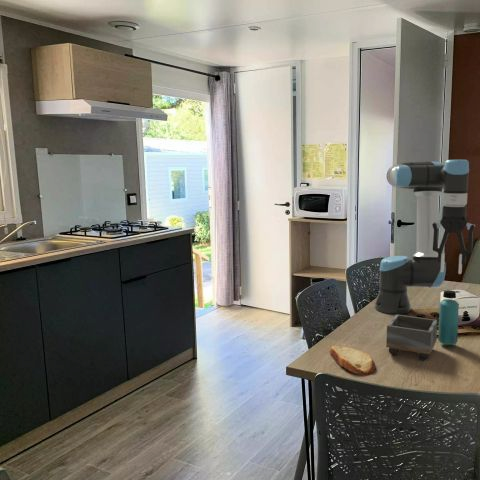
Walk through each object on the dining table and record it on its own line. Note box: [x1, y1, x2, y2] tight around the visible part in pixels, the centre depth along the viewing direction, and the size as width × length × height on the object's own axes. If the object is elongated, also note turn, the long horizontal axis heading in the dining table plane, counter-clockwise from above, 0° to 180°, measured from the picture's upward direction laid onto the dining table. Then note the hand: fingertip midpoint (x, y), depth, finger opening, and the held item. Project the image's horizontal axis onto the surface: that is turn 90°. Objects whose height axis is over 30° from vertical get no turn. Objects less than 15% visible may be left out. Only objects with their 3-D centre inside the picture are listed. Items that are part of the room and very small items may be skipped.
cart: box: [385, 314, 438, 362], centre depth 172 cm, size 14×14×10 cm
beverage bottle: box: [437, 289, 460, 345], centre depth 177 cm, size 6×7×20 cm
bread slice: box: [328, 345, 376, 376], centre depth 165 cm, size 18×18×4 cm
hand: (451, 272), depth 174 cm, fingers open, 5 cm apart
